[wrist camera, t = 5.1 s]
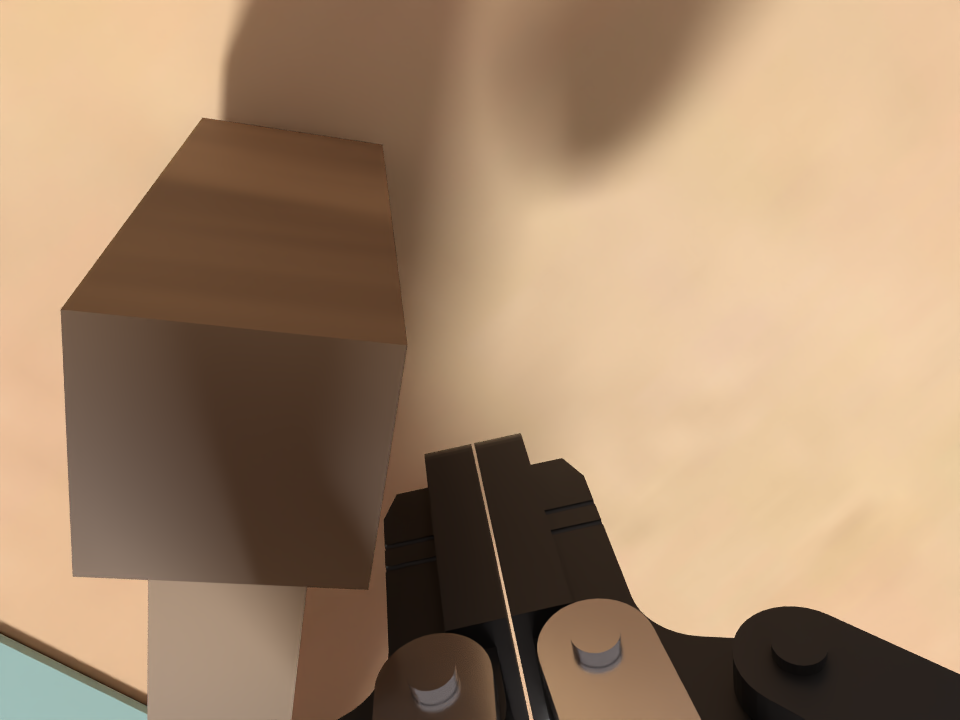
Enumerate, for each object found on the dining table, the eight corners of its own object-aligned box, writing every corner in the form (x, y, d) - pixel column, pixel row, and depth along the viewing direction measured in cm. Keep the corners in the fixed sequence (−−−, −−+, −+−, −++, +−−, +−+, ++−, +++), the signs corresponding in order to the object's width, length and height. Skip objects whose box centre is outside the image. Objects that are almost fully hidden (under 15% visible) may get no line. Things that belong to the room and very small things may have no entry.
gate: (295, 813, 21) (271, 1197, 15) (179, 813, 20) (101, 1213, 14) (382, 144, 14) (406, 346, 7) (203, 117, 13) (59, 310, 7)
